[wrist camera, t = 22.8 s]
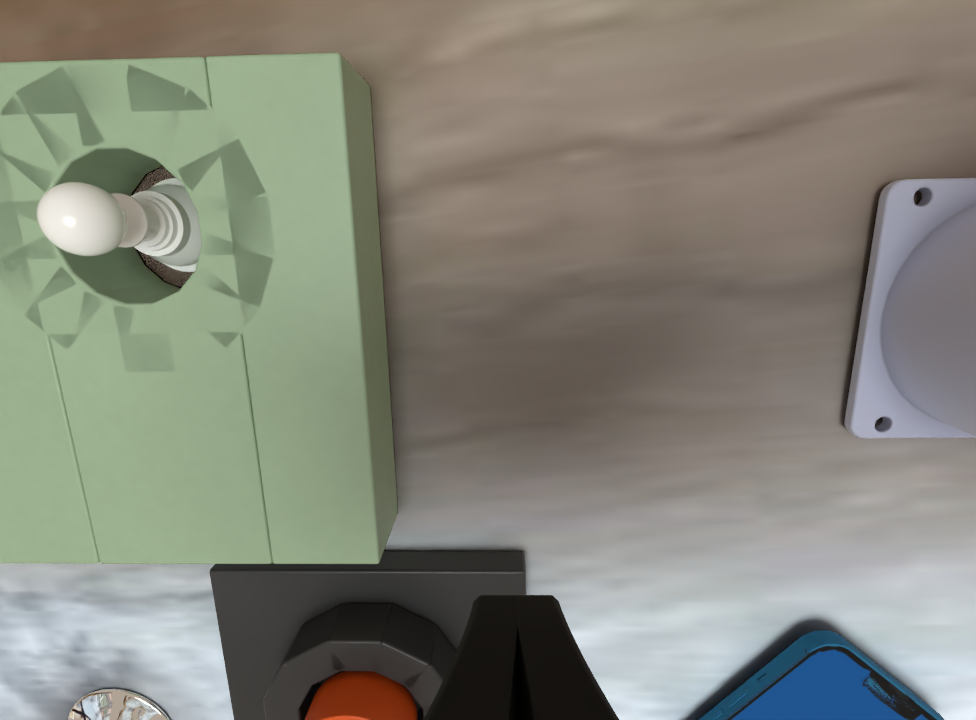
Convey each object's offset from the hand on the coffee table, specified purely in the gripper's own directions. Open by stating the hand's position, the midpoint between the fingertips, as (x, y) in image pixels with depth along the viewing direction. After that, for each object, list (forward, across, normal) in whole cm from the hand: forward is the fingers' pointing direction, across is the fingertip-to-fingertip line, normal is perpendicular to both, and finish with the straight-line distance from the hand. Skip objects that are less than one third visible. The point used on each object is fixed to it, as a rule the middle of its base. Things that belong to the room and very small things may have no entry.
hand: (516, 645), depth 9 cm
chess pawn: (+10, +10, -7) cm, 16 cm away
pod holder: (+9, +10, -4) cm, 14 cm away
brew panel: (+9, +5, +9) cm, 14 cm away
